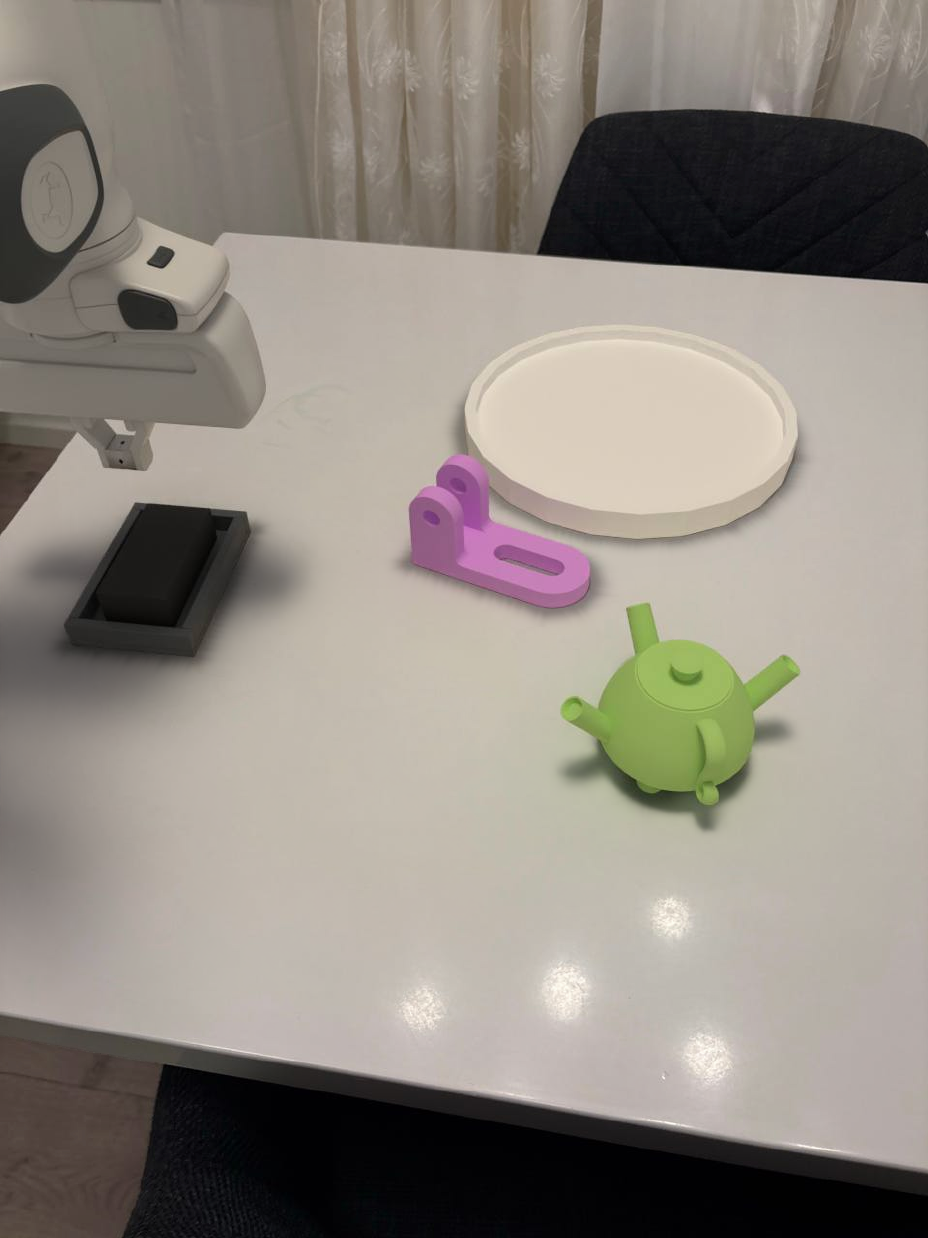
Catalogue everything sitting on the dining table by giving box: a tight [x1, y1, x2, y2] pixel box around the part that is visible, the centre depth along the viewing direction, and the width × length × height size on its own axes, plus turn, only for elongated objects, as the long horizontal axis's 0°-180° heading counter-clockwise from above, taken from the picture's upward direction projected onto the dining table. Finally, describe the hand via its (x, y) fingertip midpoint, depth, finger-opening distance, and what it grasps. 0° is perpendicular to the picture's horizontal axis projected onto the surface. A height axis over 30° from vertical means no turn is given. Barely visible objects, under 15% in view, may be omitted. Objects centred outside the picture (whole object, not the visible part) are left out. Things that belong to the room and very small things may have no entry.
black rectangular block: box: [96, 502, 217, 628], centre depth 77 cm, size 10×5×3 cm, turn 171°
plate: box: [463, 324, 799, 540], centre depth 89 cm, size 28×28×2 cm
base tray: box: [63, 501, 252, 658], centre depth 77 cm, size 14×9×2 cm
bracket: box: [408, 453, 591, 609], centre depth 76 cm, size 13×6×7 cm, turn 63°
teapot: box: [560, 602, 801, 806], centre depth 63 cm, size 11×12×8 cm
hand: (129, 464), depth 70 cm, fingers closed
